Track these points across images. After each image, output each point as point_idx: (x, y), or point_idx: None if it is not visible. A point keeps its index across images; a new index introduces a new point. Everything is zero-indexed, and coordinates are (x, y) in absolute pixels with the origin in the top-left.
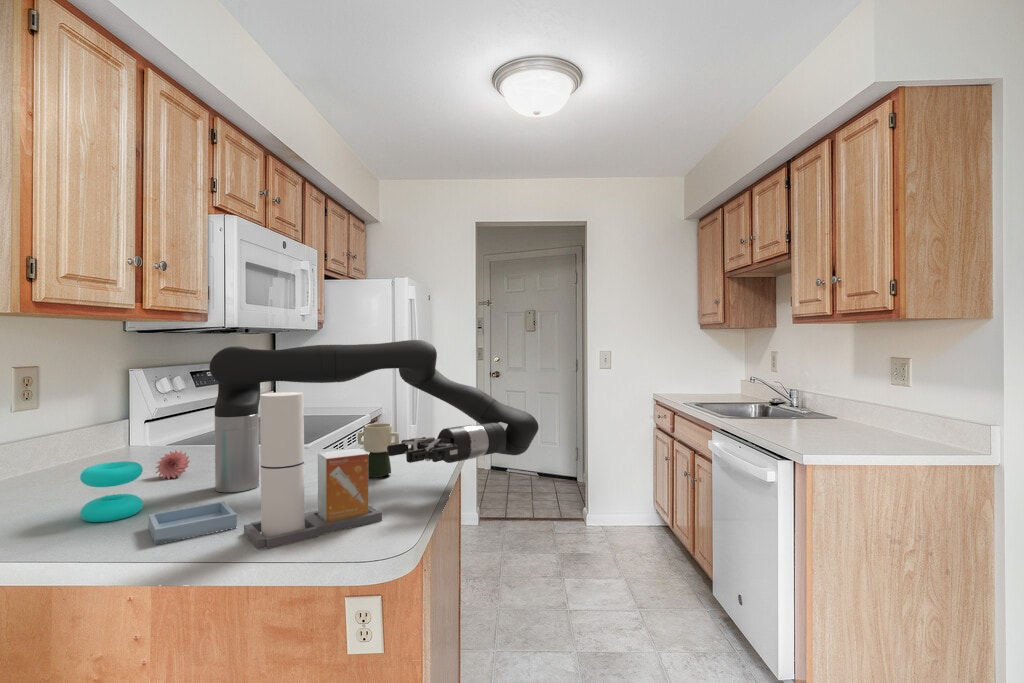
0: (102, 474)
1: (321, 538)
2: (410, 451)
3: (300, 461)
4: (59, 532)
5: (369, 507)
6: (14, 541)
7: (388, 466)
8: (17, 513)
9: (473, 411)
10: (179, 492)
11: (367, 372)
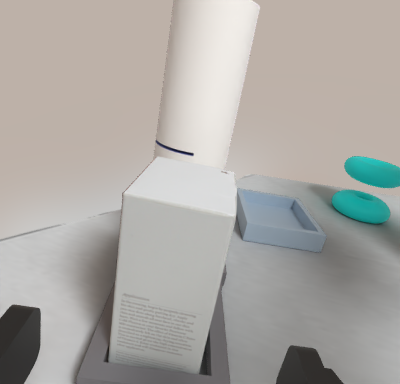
0: (348, 159)
1: (103, 270)
2: (9, 313)
3: (162, 140)
4: (314, 192)
5: (152, 379)
6: (302, 182)
7: None
8: (386, 196)
9: None
10: None
11: None
